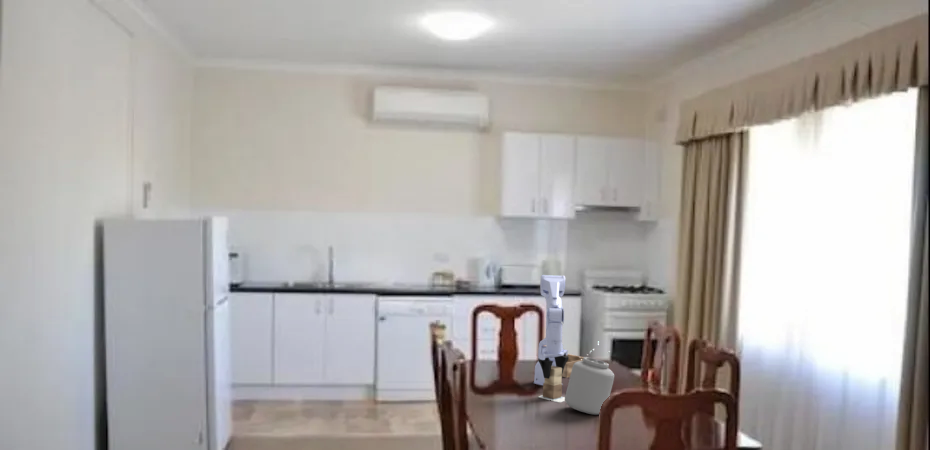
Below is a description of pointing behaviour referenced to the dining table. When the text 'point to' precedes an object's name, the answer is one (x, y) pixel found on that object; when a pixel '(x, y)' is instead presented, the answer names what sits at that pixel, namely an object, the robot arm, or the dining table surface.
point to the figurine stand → (570, 364)
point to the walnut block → (552, 391)
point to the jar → (589, 385)
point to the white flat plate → (554, 399)
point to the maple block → (554, 376)
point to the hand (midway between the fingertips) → (552, 376)
